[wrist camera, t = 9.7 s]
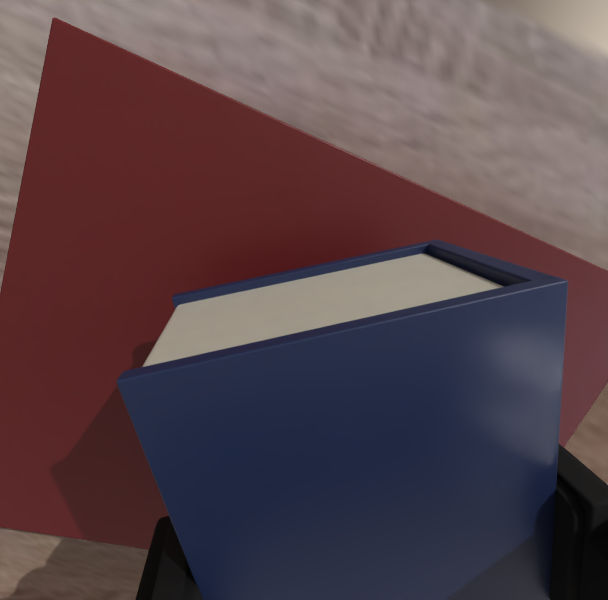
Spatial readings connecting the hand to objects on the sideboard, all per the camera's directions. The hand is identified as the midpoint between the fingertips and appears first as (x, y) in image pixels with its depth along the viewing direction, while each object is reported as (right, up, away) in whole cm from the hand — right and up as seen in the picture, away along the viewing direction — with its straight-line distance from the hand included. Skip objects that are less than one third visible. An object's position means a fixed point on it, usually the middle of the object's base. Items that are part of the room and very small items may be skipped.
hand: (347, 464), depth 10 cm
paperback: (0, 0, +1) cm, 1 cm away
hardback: (-1, +2, +7) cm, 7 cm away
